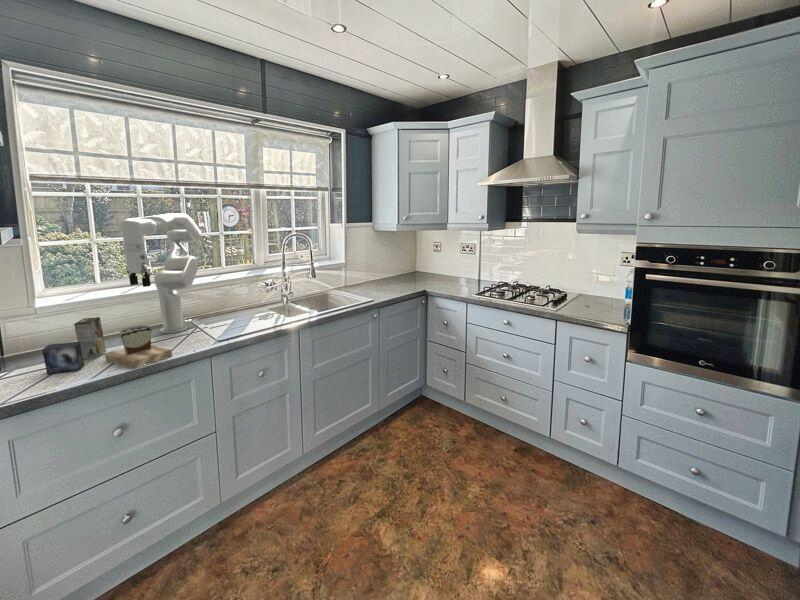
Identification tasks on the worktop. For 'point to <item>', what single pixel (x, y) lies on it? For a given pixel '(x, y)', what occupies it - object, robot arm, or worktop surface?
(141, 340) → the food container
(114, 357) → the oak base
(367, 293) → the worktop surface
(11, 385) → the worktop surface
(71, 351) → the small box
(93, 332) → the coffee box
